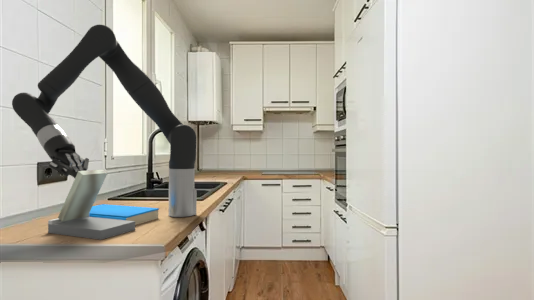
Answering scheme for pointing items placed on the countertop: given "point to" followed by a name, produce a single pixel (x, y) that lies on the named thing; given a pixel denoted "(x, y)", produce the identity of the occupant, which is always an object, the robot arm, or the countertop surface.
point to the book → (124, 213)
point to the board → (90, 227)
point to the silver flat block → (82, 194)
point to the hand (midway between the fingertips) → (84, 183)
